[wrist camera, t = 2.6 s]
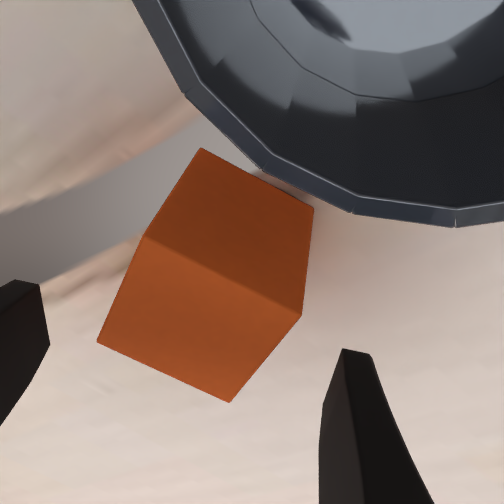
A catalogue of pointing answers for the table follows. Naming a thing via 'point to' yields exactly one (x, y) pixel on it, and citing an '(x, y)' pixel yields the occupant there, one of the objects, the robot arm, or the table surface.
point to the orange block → (213, 279)
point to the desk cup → (353, 97)
